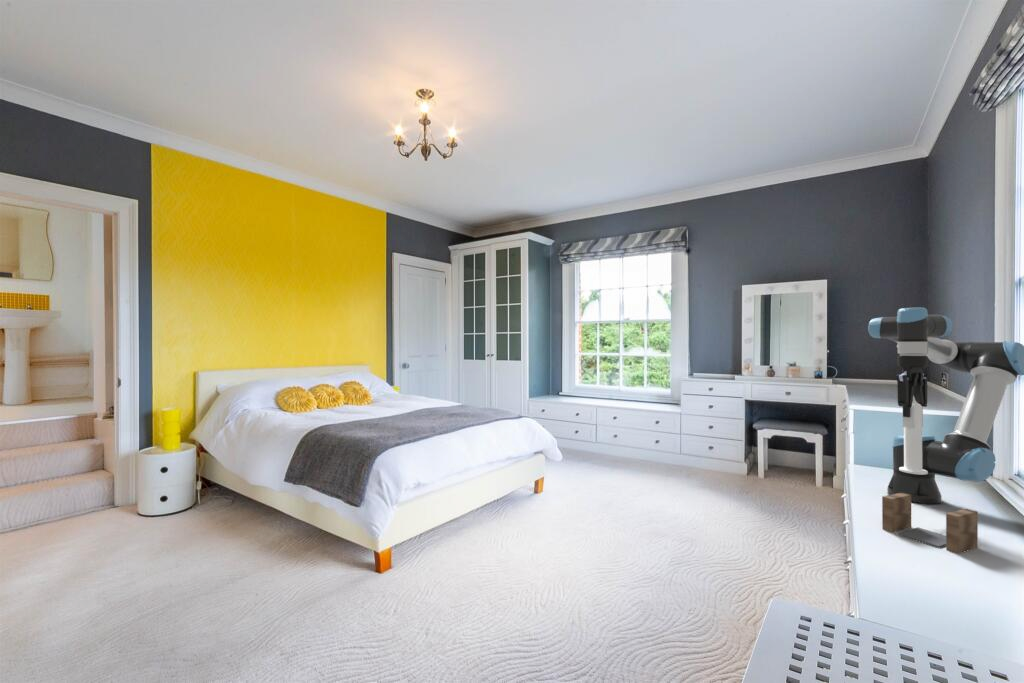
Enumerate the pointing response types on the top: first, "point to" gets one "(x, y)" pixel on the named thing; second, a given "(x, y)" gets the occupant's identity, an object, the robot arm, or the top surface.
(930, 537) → the felt pad
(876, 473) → the top surface
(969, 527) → the bookend
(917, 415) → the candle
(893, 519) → the bookend
